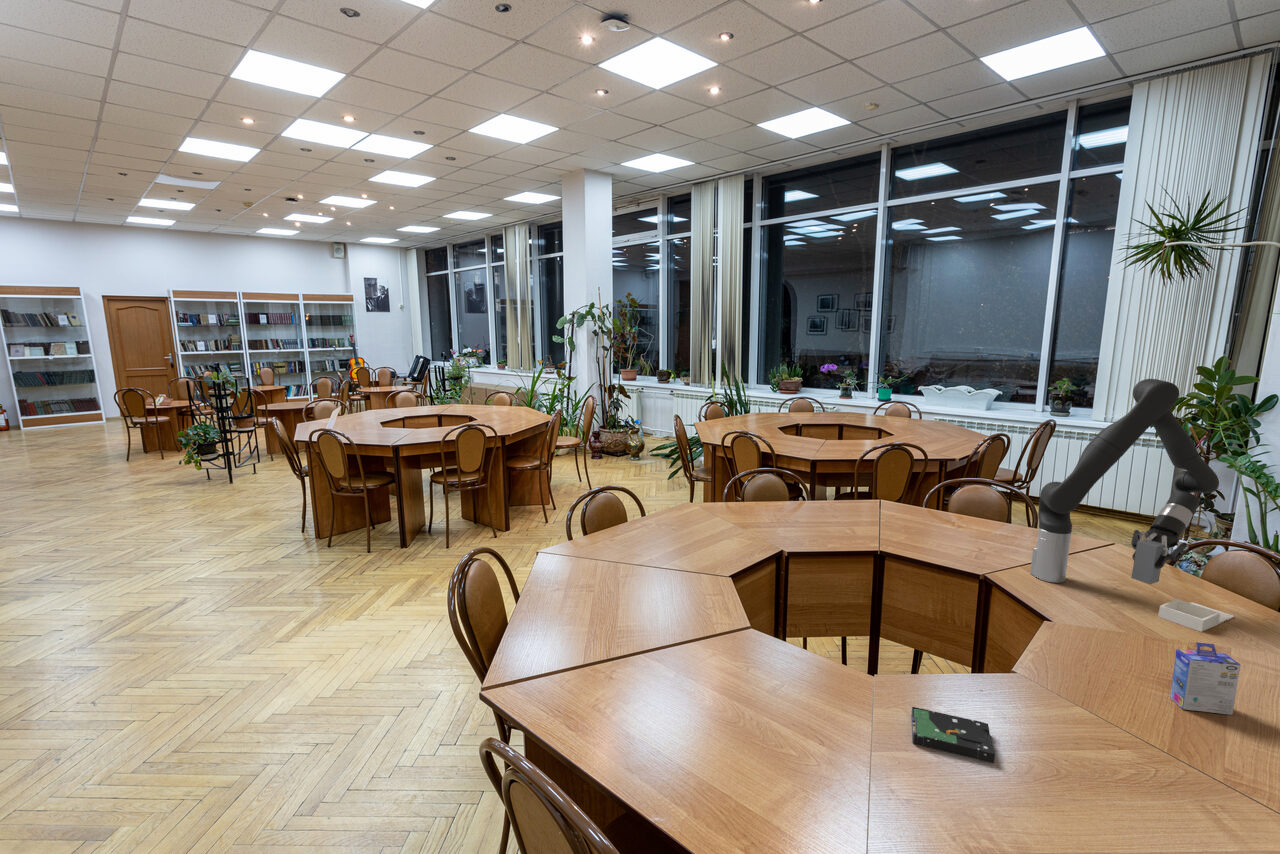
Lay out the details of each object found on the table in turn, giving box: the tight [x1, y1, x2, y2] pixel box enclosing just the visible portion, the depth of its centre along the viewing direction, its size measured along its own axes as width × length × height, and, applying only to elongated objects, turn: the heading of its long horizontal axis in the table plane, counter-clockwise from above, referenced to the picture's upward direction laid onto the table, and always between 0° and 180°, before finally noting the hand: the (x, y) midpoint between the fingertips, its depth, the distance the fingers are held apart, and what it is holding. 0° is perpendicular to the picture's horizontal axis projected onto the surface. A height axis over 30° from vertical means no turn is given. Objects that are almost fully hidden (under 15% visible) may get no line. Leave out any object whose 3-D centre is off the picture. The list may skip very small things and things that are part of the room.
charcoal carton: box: [1130, 538, 1165, 585], centre depth 187 cm, size 5×5×12 cm
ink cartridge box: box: [1169, 641, 1242, 716], centre depth 137 cm, size 10×6×14 cm, turn 78°
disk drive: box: [910, 706, 996, 764], centre depth 126 cm, size 10×3×15 cm
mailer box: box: [1157, 598, 1235, 633], centre depth 181 cm, size 10×20×4 cm, turn 117°
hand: (1145, 563), depth 186 cm, fingers closed on charcoal carton, 5 cm apart
